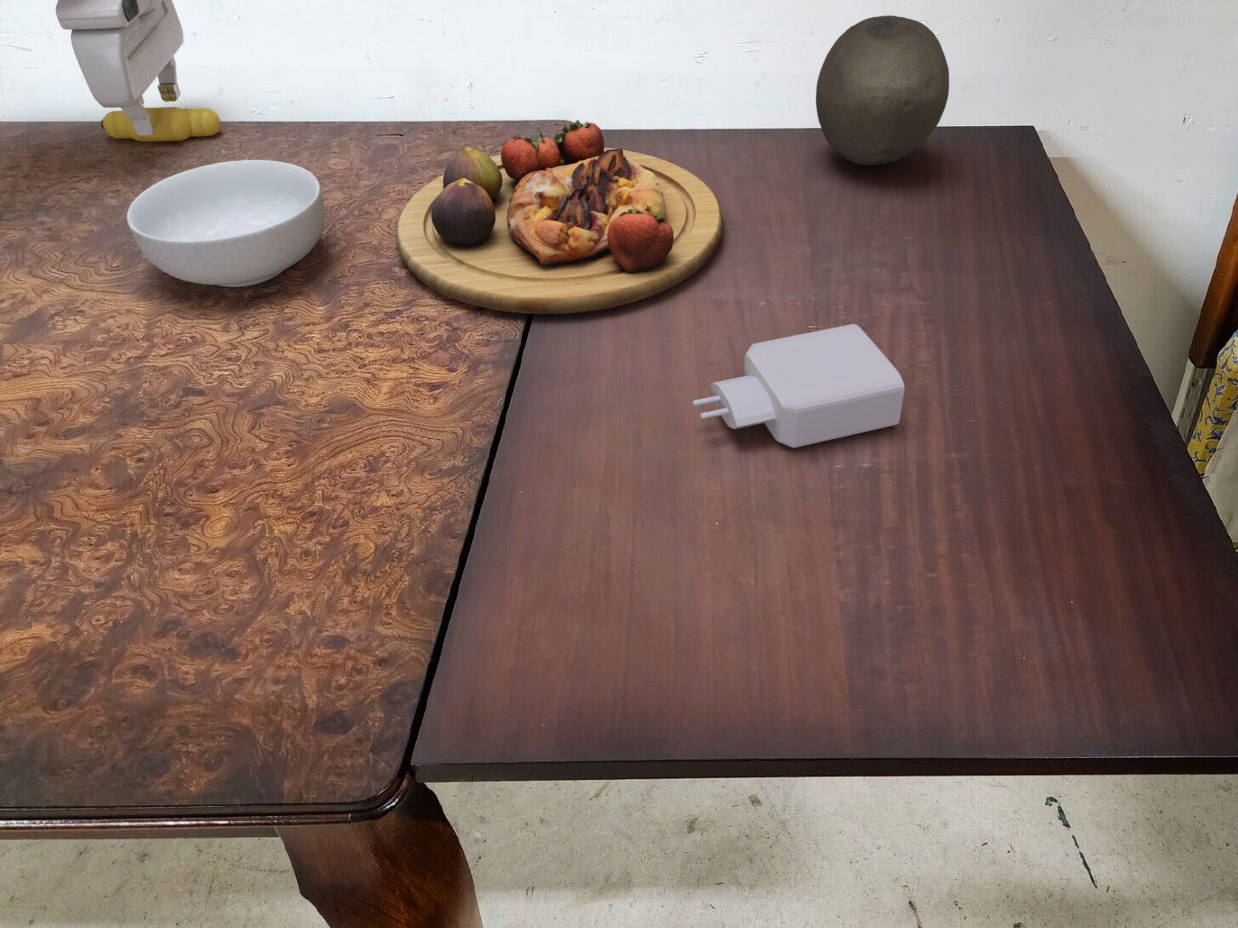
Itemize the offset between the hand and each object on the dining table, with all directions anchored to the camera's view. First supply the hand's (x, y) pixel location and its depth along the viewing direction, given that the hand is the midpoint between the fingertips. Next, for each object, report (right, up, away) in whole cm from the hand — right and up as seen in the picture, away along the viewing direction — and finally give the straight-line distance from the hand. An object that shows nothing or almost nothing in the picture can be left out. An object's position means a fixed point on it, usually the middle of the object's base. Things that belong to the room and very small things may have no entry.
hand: (160, 115), depth 122 cm
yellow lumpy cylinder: (-1, -2, +2) cm, 3 cm away
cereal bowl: (+17, -22, -19) cm, 34 cm away
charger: (+67, -38, -37) cm, 85 cm away
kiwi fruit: (+80, -7, -3) cm, 80 cm away
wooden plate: (+47, -18, -15) cm, 52 cm away
